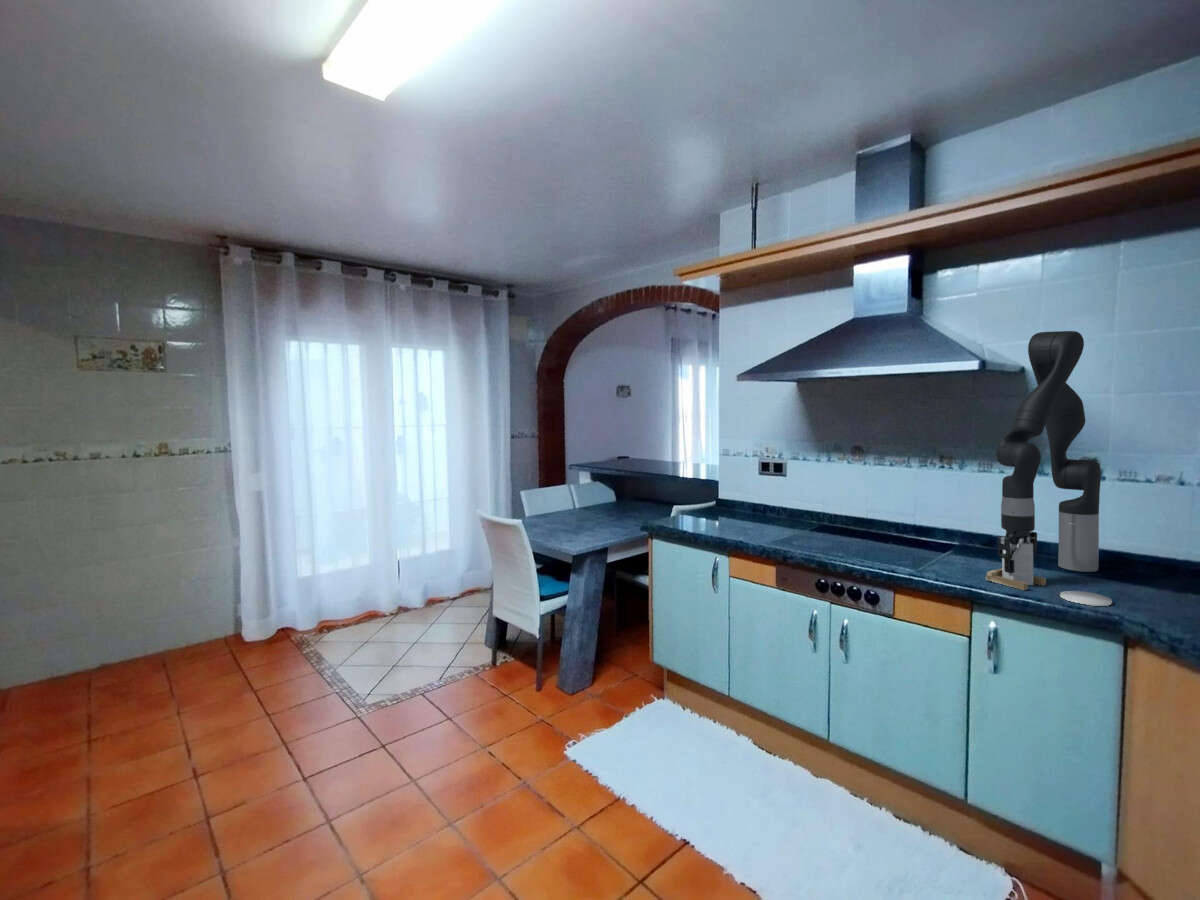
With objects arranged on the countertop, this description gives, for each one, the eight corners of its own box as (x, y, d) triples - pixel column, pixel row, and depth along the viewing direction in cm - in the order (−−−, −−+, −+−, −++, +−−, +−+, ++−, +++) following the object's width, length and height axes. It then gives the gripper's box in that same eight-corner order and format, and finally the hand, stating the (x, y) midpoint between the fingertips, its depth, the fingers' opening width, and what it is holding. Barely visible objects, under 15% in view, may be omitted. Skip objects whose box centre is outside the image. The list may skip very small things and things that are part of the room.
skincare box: (1021, 581, 158) (1021, 540, 157) (1033, 585, 154) (1034, 543, 153) (1001, 582, 158) (1001, 541, 157) (1012, 586, 153) (1012, 544, 153)
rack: (1007, 576, 163) (1007, 566, 163) (1046, 585, 154) (1046, 574, 153) (986, 581, 159) (985, 571, 159) (1024, 591, 150) (1024, 580, 149)
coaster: (1073, 591, 148) (1073, 588, 148) (1120, 602, 138) (1120, 599, 138) (1051, 597, 144) (1051, 594, 144) (1098, 609, 134) (1098, 606, 134)
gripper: (1016, 517, 148) (1016, 577, 149) (1048, 511, 154) (1048, 569, 155) (987, 513, 155) (987, 571, 156) (1018, 508, 161) (1018, 563, 162)
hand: (1017, 570), depth 155 cm, fingers closed on skincare box, 7 cm apart
